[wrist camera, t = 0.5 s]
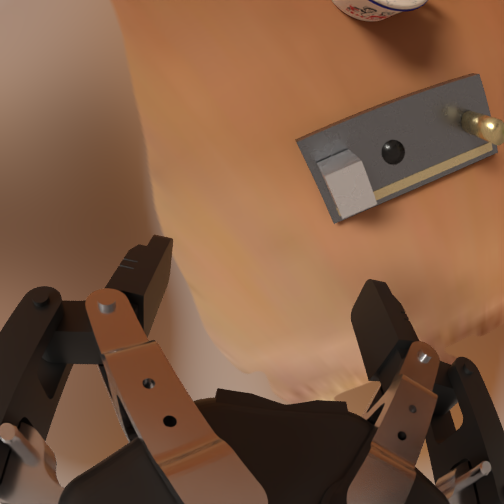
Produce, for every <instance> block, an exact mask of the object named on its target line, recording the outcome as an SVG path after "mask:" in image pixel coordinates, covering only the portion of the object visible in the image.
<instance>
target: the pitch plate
mask: <svg viewBox="0 0 504 504" xmlns="http://www.w3.org/2000/svg"><path fill="white" fill-rule="evenodd" d="M296 142H297V144H298V146H299V148H300V150H301V153H302V155H303V157H304V159H305V161H306V163H307V165H308V167H309V169H310V171H311V173H312V176H313V178H314V180H315V182H316V184H317V186H318V189H319V191H320V193H321V195H322V197H323V200H324V202H325V204H326V206H327V209H328V211H329V213H330V216H331V218H332V220H333V223H334V224H335V223H337V222H340V221H342V220H344V219H347V218H349V217H351V216H353V215H356V214H358V213H360V212H363V211H365V210H367V209H370V208H372V207H374V206H377V205H379V204H381V203H383V202H386V201H388V200H390V199H393V198H395V197H397V196H400V195H402V194H404V193H407V192H409V191H411V190H413V189H416V188H418V187H420V186H423V185H425V184H427V183H429V182H432V181H434V180H436V179H439V178H441V177H443V176H445V175H448V174H450V173H452V172H455V171H457V170H459V169H461V168H464V167H466V166H468V165H470V164H473V163H475V162H477V161H479V160H482V159H484V158H486V157H489V156H491V155H493V154H495V153H498V150H497V145H501V144H502V143H503V142H504V123H503V121H501V120H499V119H496V118H493V117H491V115H490V111H489V107H488V103H487V99H486V95H485V92H484V88H483V85H482V81H481V78H480V75H479V74H474V73H472V74H469V75H465V76H462V77H459V78H455V79H452V80H449V81H446V82H443V83H439V84H436V85H433V86H430V87H427V88H424V89H421V90H418V91H416V92H413V93H410V94H407V95H404V96H401V97H399V98H396V99H393V100H391V101H388V102H385V103H383V104H380V105H377V106H375V107H372V108H370V109H367V110H364V111H362V112H359V113H357V114H354V115H352V116H349V117H347V118H345V119H342V120H340V121H337V122H335V123H333V124H330V125H328V126H326V127H323V128H321V129H319V130H316V131H314V132H312V133H309V134H307V135H305V136H303V137H301V138H298V139H296ZM348 149H349V150H350V151H351V152H353V153H354V154H355V155H356V156H357V157H358V158H359V159H360V160H361V161H362V163H363V166H364V168H365V171H366V174H367V176H368V179H369V182H370V184H371V187H372V190H373V193H374V196H375V199H376V202H377V204H376V205H374V206H372V207H369V208H367V209H365V210H363V211H360V212H358V213H356V214H353V215H351V216H349V217H346V218H344V219H342V217H341V215H340V213H339V211H338V209H337V207H336V205H335V203H334V201H333V199H332V197H331V194H330V192H329V190H328V187H327V185H326V183H325V181H324V178H323V176H322V174H321V172H320V170H319V167H318V165H317V163H318V162H320V161H322V160H325V159H327V158H329V157H331V156H334V155H336V154H338V153H341V152H343V151H345V150H348Z"/></svg>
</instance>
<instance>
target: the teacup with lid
mask: <svg viewBox="0 0 504 504" xmlns="http://www.w3.org/2000/svg"><path fill="white" fill-rule="evenodd" d="M332 1H333V3H334V4H335V5H336V6H337V7H338V8H339V9H340V10H341V11H343V12H344V13H346V14H347V15H349V16H351V17H353V18H356V19H359V20H363V21H380V20H383V19H386V18H388V17H391V16H393V15H395V14H398V13H400V12H403V11H411V10H415V9H418V8H420V7H421V6H423V5H424V4H425V3H426V2H427V1H428V0H332Z"/></svg>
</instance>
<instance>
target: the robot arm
mask: <svg viewBox="0 0 504 504" xmlns="http://www.w3.org/2000/svg"><path fill="white" fill-rule="evenodd" d="M172 247H173V239H172V238H168V237H163V236H158V235H154V236H153V237H152V239H151V240H150V242H149V244H148V245H147V246H143V245H137V246H136V247H134V248H132V249H130V250H129V251H128V253H127V254H126V256H125V257H124V260H123V261H122V262H121V263H120V266H119V267H118V268H117V270H116V271H115V273H114V274H113V276H112V277H111V279H110V281H109V282H108V284H107V285H106V287H105V288H104V289H99V290H96V291H94V292H92V293H91V294H90V295H89V296H88V297H87V299H86V300H85V301H62V299H61V295H60V293H59V292H58V291H57V290H56V289H54V288H52V287H47V286H43V287H37V288H34V289H32V290H30V291H29V292H28V293H27V294H26V295H25V296H24V297H23V299H22V300H21V302H20V303H19V304H18V306H17V307H16V309H15V310H14V312H13V313H12V315H11V316H10V318H9V319H8V321H7V322H6V324H5V325H4V327H3V329H2V330H1V332H0V503H2V504H504V431H503V428H502V425H501V423H500V420H499V418H498V415H497V412H496V410H495V407H494V405H493V402H492V400H491V397H490V395H489V393H488V391H487V388H486V386H485V383H484V381H483V379H482V377H481V375H480V372H479V370H478V368H477V367H476V365H475V364H474V363H473V362H472V361H471V360H469V359H467V358H465V357H458V358H457V359H456V360H455V361H454V363H453V364H452V365H450V364H447V363H444V362H442V361H440V359H439V356H438V354H437V352H436V351H435V350H434V349H433V348H432V347H431V346H430V345H428V344H427V343H424V342H421V341H419V339H418V337H417V335H416V333H415V331H414V329H413V327H412V325H411V323H410V321H408V320H409V319H408V317H407V315H406V314H405V311H404V309H403V307H402V305H401V303H400V302H399V301H398V300H397V299H396V298H395V297H394V296H393V295H392V293H391V291H390V289H389V287H388V286H387V284H386V283H385V282H382V281H377V280H372V279H369V280H367V281H366V283H365V284H364V287H363V289H362V290H361V292H360V294H359V296H358V298H357V300H356V302H355V304H354V306H353V309H352V312H351V322H352V325H353V328H354V332H355V335H356V338H357V342H358V345H359V348H360V352H361V355H362V359H363V362H364V366H365V369H366V373H367V376H368V380H369V381H380V383H381V384H380V386H379V387H378V388H377V390H376V391H375V393H374V395H373V397H372V399H371V401H370V402H369V404H368V406H367V408H366V410H365V411H364V413H363V415H362V416H361V417H360V416H358V415H357V414H354V413H351V412H349V411H348V409H347V404H346V402H341V401H322V400H316V401H310V402H303V403H297V404H290V405H284V404H281V403H278V402H275V401H271V400H269V399H266V398H263V397H260V396H257V395H254V394H250V393H244V392H237V391H231V390H224V389H219V388H218V389H217V392H216V396H215V398H206V399H200V400H196V401H193V400H192V399H191V397H190V395H189V394H188V392H187V391H186V389H185V388H184V386H183V384H182V383H181V381H180V380H179V378H178V377H177V375H176V373H175V371H174V370H173V368H172V366H171V365H170V363H169V361H168V359H167V358H166V356H165V354H164V353H163V351H162V349H161V347H160V346H159V344H158V343H157V342H156V341H155V340H152V341H149V340H148V335H149V332H150V330H151V327H152V324H153V322H154V319H155V316H156V314H157V311H158V308H159V306H160V303H161V301H162V298H163V295H164V293H165V290H166V288H167V284H168V281H169V276H170V268H171V257H172ZM73 364H97V366H98V368H99V371H100V374H101V377H102V379H103V382H104V384H105V387H106V389H107V392H108V394H109V397H110V399H111V401H112V404H113V406H114V409H115V411H116V414H117V417H118V419H119V422H120V424H121V427H122V429H123V431H124V433H125V435H126V437H127V439H128V441H129V443H128V444H127V445H125V446H124V447H122V448H121V449H119V450H118V451H116V452H115V453H113V454H112V455H110V456H109V457H107V458H106V459H104V460H103V461H101V462H100V463H98V464H97V465H95V466H93V467H92V468H90V469H89V470H87V471H85V472H84V473H82V474H81V475H79V476H77V477H76V478H74V479H73V480H72V481H71V482H70V483H69V484H68V485H67V486H66V487H65V488H63V487H61V485H60V484H59V482H58V480H57V476H56V465H57V464H56V458H55V454H54V452H53V451H52V449H51V448H50V447H49V446H48V444H47V443H46V442H45V441H46V437H47V434H48V431H49V428H50V425H51V422H52V419H53V416H54V413H55V411H56V408H57V405H58V402H59V399H60V397H61V394H62V392H63V389H64V386H65V384H66V381H67V379H68V376H69V374H70V371H71V369H72V366H73ZM457 402H458V403H459V406H460V409H461V412H462V414H463V423H462V425H461V427H460V428H459V429H458V430H457V431H456V429H455V426H454V422H453V419H452V416H451V413H450V409H451V408H452V407H453V406H454V405H455V404H456V403H457ZM425 439H426V443H427V447H428V452H429V456H430V461H431V466H432V470H433V475H434V480H435V485H434V484H433V483H432V482H431V481H430V480H429V479H428V478H426V477H425V476H424V475H423V474H422V473H421V472H420V471H419V470H418V469H417V468H416V467H415V465H416V462H417V459H418V457H419V454H420V451H421V449H422V446H423V443H424V440H425Z"/></svg>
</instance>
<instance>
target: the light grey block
mask: <svg viewBox="0 0 504 504" xmlns="http://www.w3.org/2000/svg"><path fill="white" fill-rule="evenodd" d="M317 165H318V167H319V170H320V172H321V174H322V176H323V178H324V181H325V183H326V185H327V187H328V190H329V192H330V194H331V197H332V199H333V201H334V203H335V205H336V207H337V209H338V211H339V213H340V215H341V217H342V219H344V218H346V217H349V216H351V215H353V214H356V213H358V212H360V211H363V210H365V209H367V208H369V207H372V206H374V205H376V204H377V202H376V199H375V196H374V193H373V190H372V187H371V184H370V182H369V179H368V176H367V174H366V171H365V168H364V166H363V163H362V161H361V160H360V159H359V158H358V157H357V156H356V155H355V154H354V153H353V152H351V151H350V150H349V149H348V150H345V151H343V152H341V153H338V154H336V155H334V156H331V157H329V158H327V159H325V160H322V161H320V162H318V163H317Z"/></svg>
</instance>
